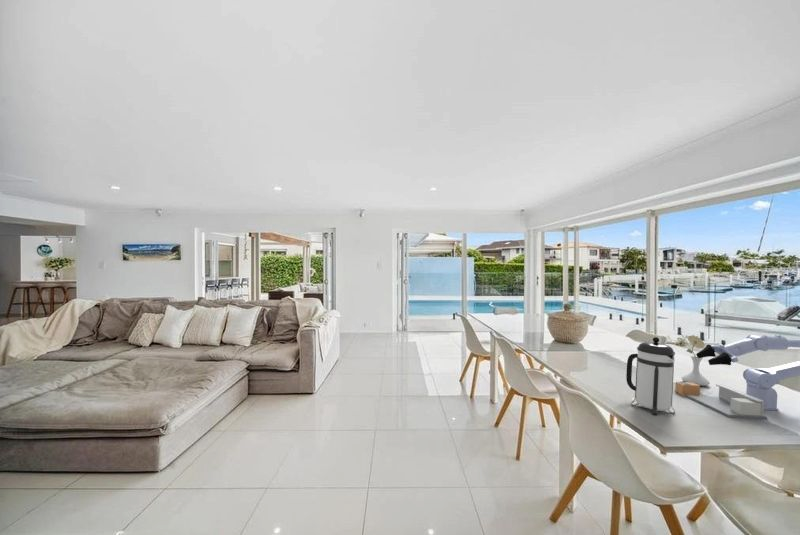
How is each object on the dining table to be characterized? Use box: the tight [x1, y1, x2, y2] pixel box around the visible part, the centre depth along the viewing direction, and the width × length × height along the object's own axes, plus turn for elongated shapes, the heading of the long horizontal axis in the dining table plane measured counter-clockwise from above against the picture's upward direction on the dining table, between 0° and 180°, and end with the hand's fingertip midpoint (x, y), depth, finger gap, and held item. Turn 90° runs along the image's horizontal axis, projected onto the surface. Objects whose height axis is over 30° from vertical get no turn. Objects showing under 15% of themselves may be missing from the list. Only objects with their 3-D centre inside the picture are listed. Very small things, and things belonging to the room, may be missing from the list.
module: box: [674, 381, 701, 396], centre depth 170 cm, size 8×4×5 cm, turn 87°
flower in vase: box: [681, 334, 711, 386], centre depth 188 cm, size 13×11×25 cm
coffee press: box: [625, 336, 676, 416], centre depth 149 cm, size 17×16×30 cm
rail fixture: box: [686, 383, 768, 420], centre depth 154 cm, size 15×22×7 cm
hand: (703, 359), depth 162 cm, fingers open, 7 cm apart
